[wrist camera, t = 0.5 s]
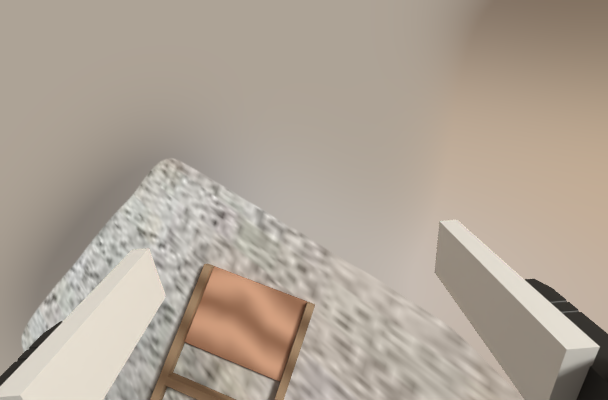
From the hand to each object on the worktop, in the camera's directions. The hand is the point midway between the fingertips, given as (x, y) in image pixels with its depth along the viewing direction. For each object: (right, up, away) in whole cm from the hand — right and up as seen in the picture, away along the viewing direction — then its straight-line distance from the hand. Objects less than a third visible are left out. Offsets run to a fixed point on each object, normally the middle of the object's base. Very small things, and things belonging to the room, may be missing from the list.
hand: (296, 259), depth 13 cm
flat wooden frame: (-12, -27, +30) cm, 42 cm away
